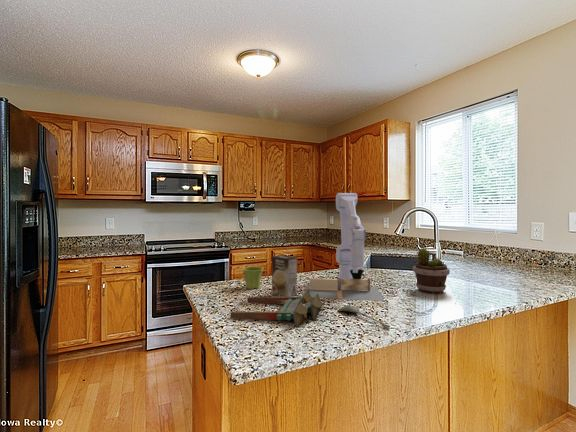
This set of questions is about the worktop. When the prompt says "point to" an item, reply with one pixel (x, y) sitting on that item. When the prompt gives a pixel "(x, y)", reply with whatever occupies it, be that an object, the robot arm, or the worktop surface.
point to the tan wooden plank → (356, 284)
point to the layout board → (340, 291)
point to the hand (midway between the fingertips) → (356, 286)
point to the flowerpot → (430, 273)
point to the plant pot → (252, 277)
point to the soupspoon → (356, 310)
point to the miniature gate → (284, 308)
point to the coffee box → (284, 275)
